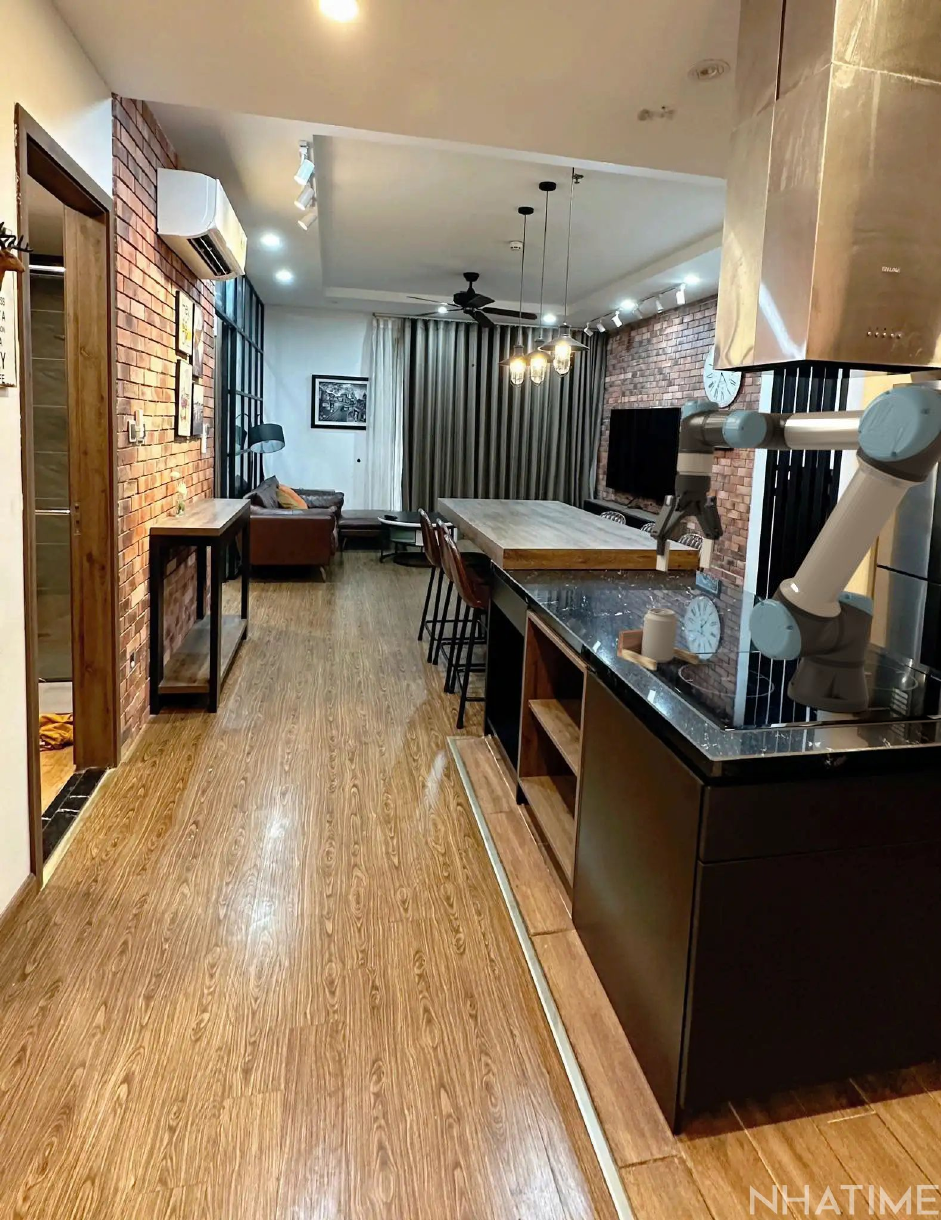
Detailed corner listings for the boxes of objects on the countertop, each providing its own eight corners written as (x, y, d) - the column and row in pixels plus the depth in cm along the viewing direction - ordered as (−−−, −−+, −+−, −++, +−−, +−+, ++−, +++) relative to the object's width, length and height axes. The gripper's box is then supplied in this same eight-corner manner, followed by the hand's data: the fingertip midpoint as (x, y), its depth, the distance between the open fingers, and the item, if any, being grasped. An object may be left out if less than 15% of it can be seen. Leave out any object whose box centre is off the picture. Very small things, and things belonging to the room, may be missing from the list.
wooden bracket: (697, 663, 181) (700, 639, 180) (653, 670, 174) (655, 644, 173) (660, 650, 192) (663, 626, 190) (617, 655, 185) (619, 631, 184)
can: (654, 653, 189) (659, 605, 186) (679, 661, 183) (684, 612, 180) (634, 657, 184) (638, 608, 181) (659, 665, 178) (664, 615, 176)
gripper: (720, 473, 179) (710, 563, 183) (639, 471, 166) (630, 568, 171) (746, 475, 173) (735, 569, 177) (664, 473, 160) (654, 574, 165)
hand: (683, 569), depth 174 cm, fingers open, 13 cm apart
